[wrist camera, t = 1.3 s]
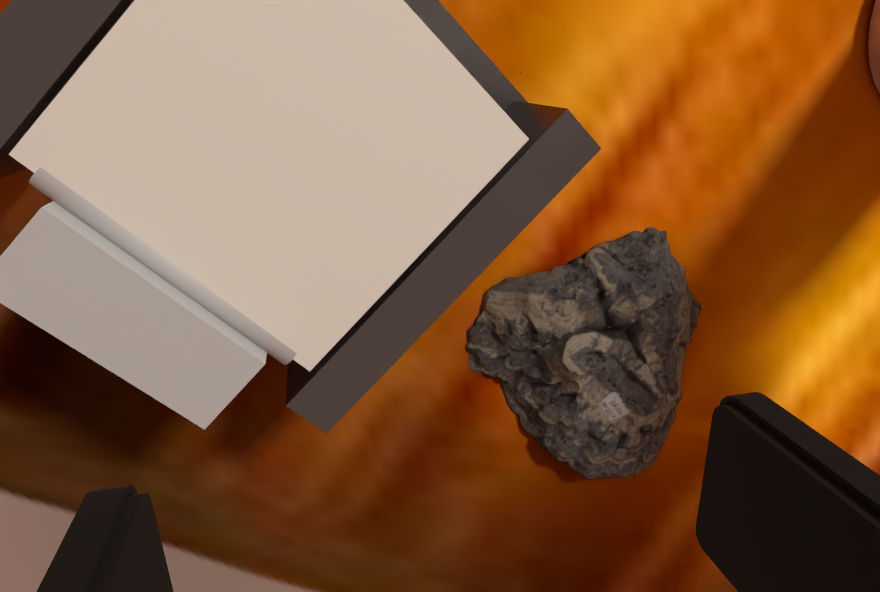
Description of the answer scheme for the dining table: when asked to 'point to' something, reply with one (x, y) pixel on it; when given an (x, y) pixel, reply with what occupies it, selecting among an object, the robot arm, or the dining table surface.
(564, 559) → the dining table surface
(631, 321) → the grey fossil rock
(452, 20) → the trapdoor frame
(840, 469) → the robot arm
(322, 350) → the trapdoor
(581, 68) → the dining table surface
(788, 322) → the dining table surface
